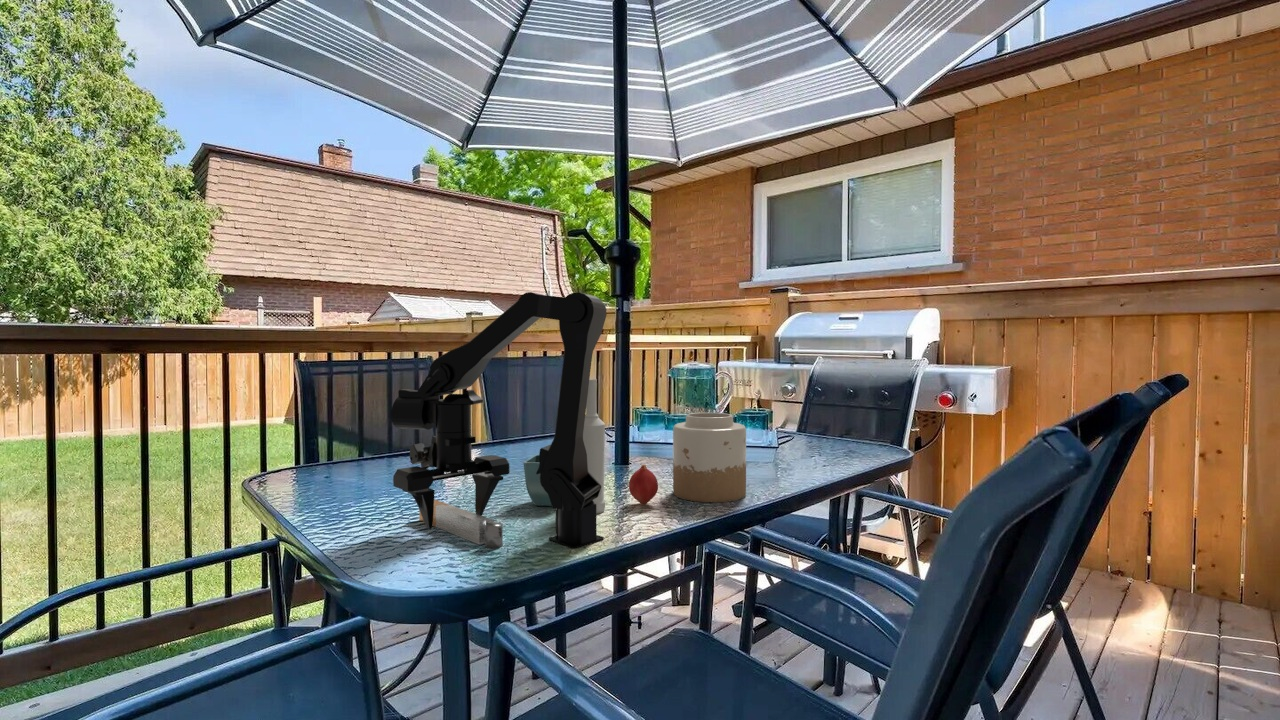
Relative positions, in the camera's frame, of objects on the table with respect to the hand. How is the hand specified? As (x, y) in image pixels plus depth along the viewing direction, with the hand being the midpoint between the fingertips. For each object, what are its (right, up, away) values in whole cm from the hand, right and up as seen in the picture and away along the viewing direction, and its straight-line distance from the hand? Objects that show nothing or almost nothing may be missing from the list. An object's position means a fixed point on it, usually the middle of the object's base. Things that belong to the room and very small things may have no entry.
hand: (454, 522), depth 105 cm
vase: (+46, -1, +26) cm, 53 cm away
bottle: (+22, -1, +13) cm, 26 cm away
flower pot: (+14, -1, +18) cm, 23 cm away
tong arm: (0, -1, -1) cm, 1 cm away
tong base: (+1, -2, -1) cm, 2 cm away
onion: (+32, -1, +17) cm, 36 cm away
